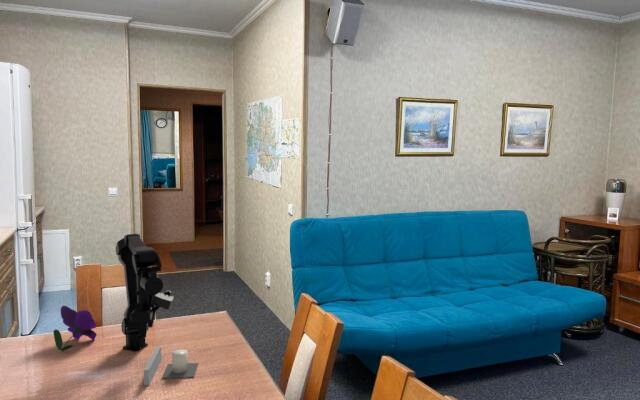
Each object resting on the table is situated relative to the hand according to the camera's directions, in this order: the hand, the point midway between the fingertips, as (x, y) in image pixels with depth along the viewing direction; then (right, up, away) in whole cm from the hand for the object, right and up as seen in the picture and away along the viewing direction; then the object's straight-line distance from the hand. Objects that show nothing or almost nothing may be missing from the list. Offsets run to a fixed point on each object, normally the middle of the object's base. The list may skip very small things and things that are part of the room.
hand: (147, 332), depth 166 cm
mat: (+12, -12, -2) cm, 17 cm away
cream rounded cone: (+12, -12, -2) cm, 17 cm away
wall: (+3, -12, -3) cm, 13 cm away
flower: (-34, -10, +18) cm, 39 cm away
